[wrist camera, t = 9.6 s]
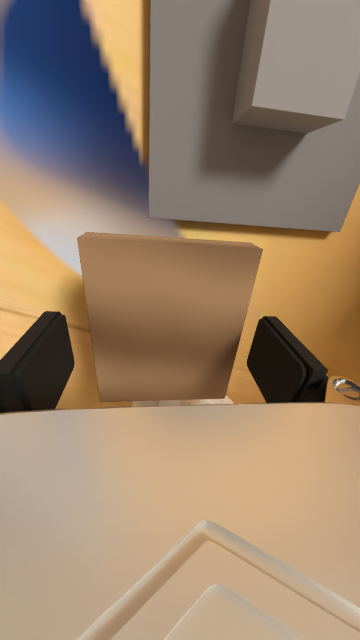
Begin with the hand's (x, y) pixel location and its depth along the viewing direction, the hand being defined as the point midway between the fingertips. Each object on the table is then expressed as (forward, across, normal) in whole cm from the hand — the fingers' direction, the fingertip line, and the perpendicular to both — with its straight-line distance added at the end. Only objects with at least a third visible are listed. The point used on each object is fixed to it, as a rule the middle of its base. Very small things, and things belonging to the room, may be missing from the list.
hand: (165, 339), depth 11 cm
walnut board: (+1, 0, 0) cm, 2 cm away
